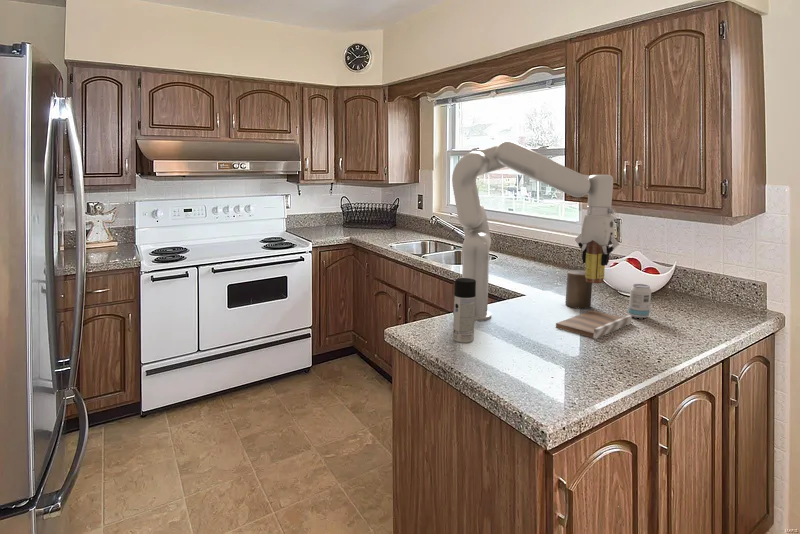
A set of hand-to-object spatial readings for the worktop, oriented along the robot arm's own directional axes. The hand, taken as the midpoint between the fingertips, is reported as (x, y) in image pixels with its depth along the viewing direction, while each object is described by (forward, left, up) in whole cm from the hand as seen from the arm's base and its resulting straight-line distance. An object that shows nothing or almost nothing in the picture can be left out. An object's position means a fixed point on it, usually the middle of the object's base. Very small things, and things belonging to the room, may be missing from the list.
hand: (594, 263), depth 172 cm
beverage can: (+22, -7, -22) cm, 32 cm away
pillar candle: (+19, +16, -22) cm, 33 cm away
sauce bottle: (0, 0, -7) cm, 7 cm away
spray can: (-46, +18, -22) cm, 54 cm away
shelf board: (0, -1, -22) cm, 22 cm away
